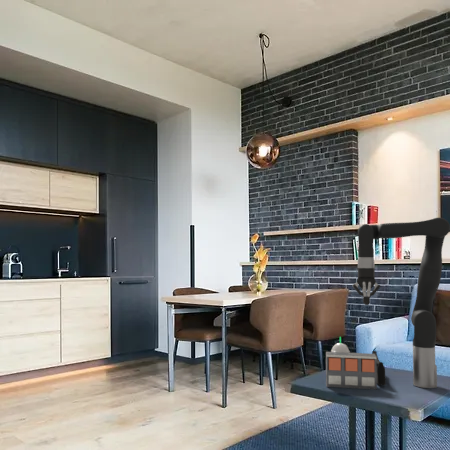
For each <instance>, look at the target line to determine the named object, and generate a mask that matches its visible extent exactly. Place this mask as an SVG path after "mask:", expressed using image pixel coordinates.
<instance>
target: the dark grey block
mask: <svg viewBox="0 0 450 450" xmlns="http://www.w3.org/2000/svg"><path fill="white" fill-rule="evenodd" d="M328 357H339V358H341V371H339V370H329V362H328ZM345 358H357V365H358V371H345ZM361 359H374V372H362V370H361ZM325 386H326V388H338V389H339V388H341V389H343V388H344V389H360V390H375V391H376V390H377V389H378V388H377V386H378V384H377V373H376V355H375V354H372V353H366V352H365V353H364V352H363V353H362V352H350V353H344V352H331V351H325Z"/></svg>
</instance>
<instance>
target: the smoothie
mask: <svg viewBox="0 0 450 450" xmlns="http://www.w3.org/2000/svg"><path fill="white" fill-rule="evenodd" d="M330 352H344V353H351V351H350V350H349V348H348V345H346V344H345V343H342V337H341V336H339V342H337V343H335V344H334V345H333V346H332V348H331V350H330Z"/></svg>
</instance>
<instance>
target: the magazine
mask: <svg viewBox="0 0 450 450" xmlns="http://www.w3.org/2000/svg"><path fill="white" fill-rule="evenodd" d="M371 354H375V355H376V373H377V386H386V384H387V381H386V368H385V366H384V362H382V361H380V359H379V356H378V354H377V351H376V350H373V351H372V352H371Z"/></svg>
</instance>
